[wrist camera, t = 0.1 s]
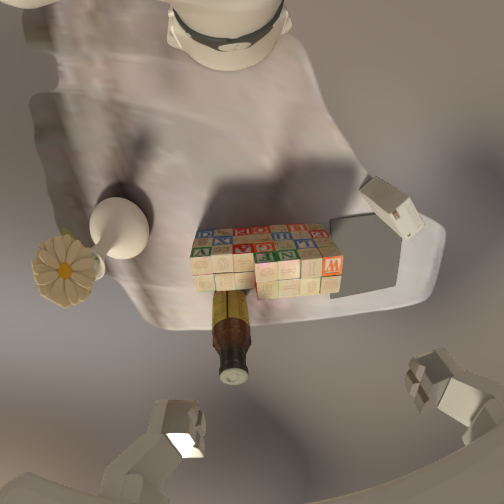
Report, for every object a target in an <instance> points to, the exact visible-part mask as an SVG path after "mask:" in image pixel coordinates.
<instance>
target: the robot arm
mask: <svg viewBox="0 0 504 504" xmlns="http://www.w3.org/2000/svg"><path fill="white" fill-rule="evenodd" d="M0 1H1V2H3V3H5V4H7V5H11V6H15V7H19V8H25V9H32V8H38V7H42V6H45V5H48V4H51V3H55V2H58V1H62V0H0ZM158 1H162V2H166V3H169V4H170V5H171V8H170V9H169V11H168V15H169V24H168V33H167V42H168V44H169V45H170V46H171V47H174V48H176V49H179V50H183V51H185V52H187V53H188V54H189V55H190V56H191V57H192V58H193V59H194V60H196V61H197V62H198V63H200V64H202V65H204V66H206V67H208V68H211V69H215V70H222V71H234V70H240V69H244V68H247V67H250V66H252V65H254V64H256V63H258V62H260V61H261V60H262V59H264V58H265V57H266V56H267V55H268V54H269V53H270V51H271V50H272V49H273V47H274V45H275V43H276V42H277V40H278V39H279V38H280V37H281V36H283V35H285V34H286V33H287V32H289V31H290V30H291V28H292V21H291V18H290V16H289V14H288V11H287V9H286V7H285V5H284V0H158ZM409 366H410V369H409V370H408V372H407V373H406V376H405V385H406V388H407V390H408V392H409V394H410V395H412V396H414V397H415V398H414V403H415V405H416V407H417V409H418V411H419V412H420V413H423V412H426V411H428V410H431V409H433V408H435V407H438V408H439V409H440V410H442V411H443V412H445V413H446V414H448V415H450V416H451V417H453V418H455V419H456V420H458V421H459V422H461V423H463V424H464V425H466V426H467V427H469V428H468V429H467V431H466V432H465V433H464V435H463V437H462V440H463V442H464V444H465V446H464V447H463V448H462V449H459V450H457V451H456V452H454V453H452V454H450V455H448V456H446V457H444V458H442V459H440V460H438V461H436V462H434V463H433V464H430V465H428V466H426V467H424V468H422V469H419V470H417V471H414V472H412V473H410V474H408V475H405V476H402V477H400V478H397V479H395V480H392V481H389V482H386V483H384V484H381V485H378V486H375V487H372V488H369V489H365V490H362V491H358V492H355V493H352V494H348V495H344V496H340V497H336V498H332V499H327V500H322V501H318V502H312V503H307V504H504V385H502V384H499V383H497V382H494V381H492V380H489V379H487V378H484V377H482V376H479V375H476V374H474V373H472V372H469V371H467V370H466V371H463V370H462V369H461V367H460V366H459V365H458V363H457V362H456V361H455V360H454V358H453V357H452V356H451V355H450V353H449V352H448V351H447V350H446V348H444V347H441V348H438V349H436V350H433V351H430V352H427V353H424V354H422V355H419V356H416V357H413V358H412V359H411V360H410V362H409ZM198 409H199V404H198V402H197V400H157V401H156V402H155V404H154V408H153V412H152V416H151V420H150V424H149V428H148V432H147V434H145V433H144V434H143V435H141V436H140V437H139V438H138V439H137V440H136V441H135V442H134V443H133V444H132V445H131V446H130V447H129V448H127V449H126V450H125V451H124V452H123V453H122V454H121V455H120V456H119V457H117V458H116V459H115V460H114V461H113V462H112V463H111V464H110V465H109V466H107V467H106V468H105V472H104V475H103V479H102V483H101V487H100V490H99V494H98V496H97V495H94V494H91V493H87V492H84V491H80V490H77V489H74V488H71V487H68V486H65V485H62V484H59V483H57V482H54V481H51V480H49V479H46V478H44V477H41V476H39V475H37V474H34V473H31V472H25V473H23V474H20V475H19V476H17V477H15V478H14V479H12V480H11V481H9V482H8V483H6V484H5V485H3V487H1V489H0V504H169V501H170V500H169V498H168V497H167V496H165V495H164V494H163V493H161V492H160V491H159V488H160V487H161V486H162V485H163V483H164V481H166V480H167V478H168V477H169V475H170V474H171V473H172V472H173V471H174V469H175V468H176V467H177V465H178V464H179V463H180V461H181V460H182V459H183V458H182V457H204V449H205V442H204V441H203V439H202V437H203V436H204V435H205V434H206V422H205V417H204V414H203V412H202V411H200V410H198Z"/></svg>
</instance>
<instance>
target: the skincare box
mask: <svg viewBox="0 0 504 504" xmlns="http://www.w3.org/2000/svg"><path fill="white" fill-rule="evenodd" d="M359 191H360V192H361V194H362V195H363V197H364V198H365V199H366V201H367V202H368V204H369V205H370V207H371V208H372V209H373V211H374V212H375V214H376V215H377V216H378V217H380V218H381V219H382V220H383V221H384V222H385V223H386V224H387V225H388V226H390V227H391V228H392V229H393V230H394V231H395V232H396V233H397V234H398V235H399V236H400V237H401V238H402V239H403V240H404V241H405V242H407V241H408V240H410V239H411V238H412V237H413V236H414V235H415V234H416V233H417V232H418V231H419V230H420V229H421V228H422V227H423V226H424V225H425V224H424V222H423V220H422V218H421V217H420V215H419V213H418V211H417V209H416V208H415V206H414V204H413V202H412V201H411V199H410V197H409V196H407V195H406V194H404V193H403V192H401V191H399V190H398V189H397V188H395V187H393V186H392V185H390V184H389V183H387V182H385V181H384V180H382V179H380V178H378V177H377V176H375V177H374V178H373V179H371V180H370V181H369V182H368V183H367V184H365V185H364V186H363V187H362V188H361V189H360V190H359Z"/></svg>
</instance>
